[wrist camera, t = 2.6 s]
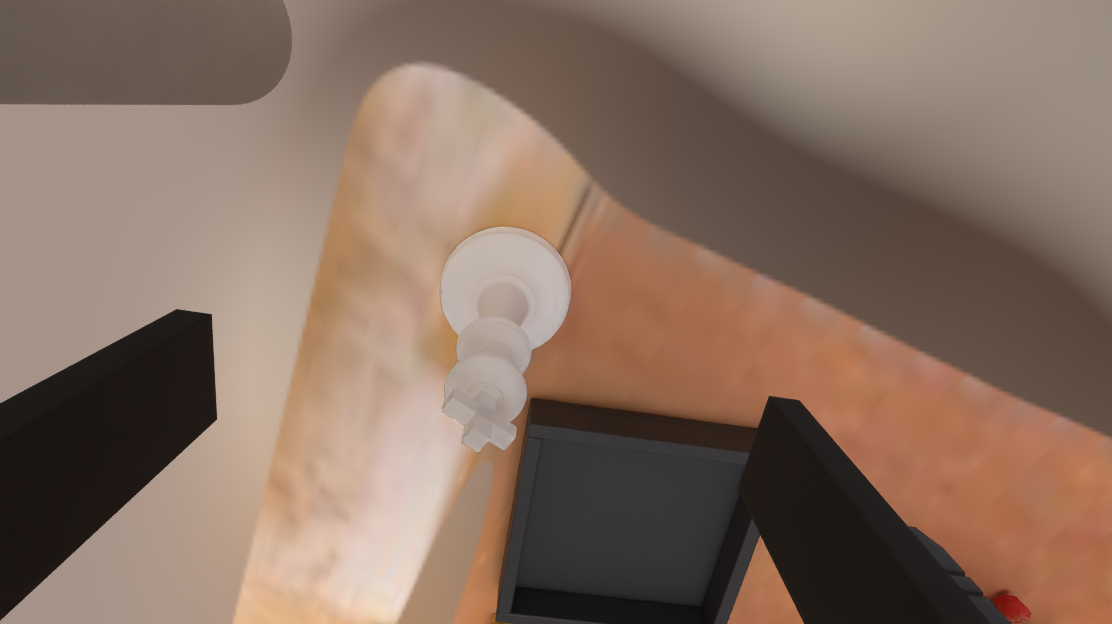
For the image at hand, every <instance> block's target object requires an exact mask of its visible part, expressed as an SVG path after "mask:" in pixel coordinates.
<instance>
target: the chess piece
mask: <svg viewBox="0 0 1112 624" xmlns="http://www.w3.org/2000/svg"><path fill="white" fill-rule="evenodd" d="M440 300H441V305H442V309H443V312H444V315H445V317H446V319H447V321H448V323H449V324H450V326H451V327H452V329H453V330H454V331H455V332H456V333H457V334H458V335H459V338H458V341H457V345H456V355H457V359H458V363H457V364H456V365H455V366H454V367H453V368H452V369H451V371H450V372H449V374H448V376H447V378H446V381H445V386H444V395H445V401H444V404H443V407H442V410H441V412H443V413H445V414H446V415H448V416H449V417H451V418H453V419H454V420H456V421H457V422H459V423H461V424H462V425H464V426H465V428H464V432H463V436H462V440H461V443H462V444H464V445H466V446H467V447H469V448H470V449H472V450H474V451H475V452H477V453H479V451H480V450H481V449H482V448H483V447H484V446H485V444H486V443H487V442H488V441H489V442H491V443H492V444H494V445H496V446H497V447H499V448H500V449H502V450H503V451H504V450H505V449H506V448H507V447H508V446H509V445H510V444H511V442H512V441H513V440H514V439H515V438H516V426H514V425H513V424H511V423H510V422H511V421H512V420H513V419H515V418H516V417H517V416H518V415H519V413H520V412H521V411H522V409H523V407H524V405H525V402H526V397H527V387H526V382H525V379H524V377H523V375H522V374H523V373H524V372H525V370H526V369H527V367H528V365H529V363H530V360H531V353H532V351H531V350H533V349H536V348H538V347H539V346H541V345H543V344H544V343H546V342H547V341H548V340H549V339H550V338H551V337H553V336H554V334H555V333H556V332H557V331H558V330H559V328H560V327H561V325H562V323H563V321H564V319H565V317H566V315H567V312H568V308H569V305H570V300H571V280H570V276H569V272H568V269H567V267H566V264H565V262H564V261H563V259H562V257H561V256H560V254H559V253H558V252H557V251H556V249H555V248H554V247H553V246H552V245H551V244H550V243H548V242H547V241H546V240H545V239H543V238H542V237H540V236H538V235H536V234H534V233H532V232H530V231H527V230H524V229H520V228H515V227H493V228H488V229H485V230H482V231H479V232H477V233H475V234H473V235H471V236H469V237H468V238H466V239H465V240H463V241H462V242H461V243H460V244H459V245H458V246H457V247H456V248H455V249H454V250H453V252H452V253H451V254H450V256H449V258H448V259H447V261H446V263H445V266H444V269H443V272H442V276H441V284H440Z"/></svg>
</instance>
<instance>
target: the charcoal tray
mask: <svg viewBox="0 0 1112 624" xmlns="http://www.w3.org/2000/svg"><path fill="white" fill-rule="evenodd" d="M757 430H758V429H754V428H747V427H739V426H732V425H725V424H717V423H710V422H703V421H696V420H688V419H681V418H674V417H666V416H659V415H652V414H644V413H637V412H630V411H622V410H615V409H608V408H600V407H593V406H586V405H578V404H571V403H564V402H556V401H549V400H542V399H534V398H531V400H530V406H529V411H528V417H527V423H526V429H525V435H524V441H523V447H522V452H521V458H520V464H519V470H518V476H517V482H516V488H515V493H514V499H513V505H512V511H511V517H510V523H509V529H508V534H507V540H506V546H505V552H504V558H503V564H502V570H501V575H500V581H499V589H498V599H497V610H496V622H501V623H510V624H727V622H728V620H729V617H730V614H731V612H732V609H733V606H734V604H735V601H736V598H737V595H738V593H739V590H740V587H741V585H742V582H743V579H744V577H745V574H746V571H747V569H748V566H749V563H750V560H751V558H752V555H753V552H754V550H755V547H756V544H757V542H758V539H759V536H760V533H759V531H758V529H757V527H756V525H755V523H754V521H753V519H752V517H751V515H750V513H749V511H748V509H747V507H746V505H745V503H744V501H743V499H742V497H741V495H740V493H739V491H738V486H739V483H740V481H741V478H742V475H743V472H744V469H745V466H746V463H747V460H748V457H749V454H750V451H751V448H752V445H753V442H754V439H755V436H756V433H757Z"/></svg>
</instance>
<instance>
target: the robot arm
mask: <svg viewBox="0 0 1112 624" xmlns="http://www.w3.org/2000/svg"><path fill="white" fill-rule="evenodd" d="M216 420H217V410H216V390H215V371H214V352H213V332H212V314H206V313H199V312H192V311H185V310H178V309H176V310H174V311H173V312H171V313H169V314H167V315H165V316H163V317H161V318H159V319H157V320H156V321H154V322H152V323H150V324H148V325H146V326H144V327H142V328H141V329H139V330H137V331H135V332H133V333H131V334H129V335H128V336H126V337H124V338H122V339H120V340H118V341H116V342H114V343H112V344H111V345H109V346H107V347H105V348H103V349H101V350H99V351H97V352H96V353H94V354H92V355H90V356H88V357H86V358H84V359H82V360H81V361H79V362H77V363H75V364H74V365H71V366H69V367H67V368H66V369H64V370H62V371H60V372H58V373H56V374H54V375H52V376H51V377H49V378H47V379H45V380H43V381H41V382H39V383H37V384H36V385H34V386H32V387H30V388H28V389H26V390H24V391H23V392H21V393H19V394H17V395H15V396H13V397H11V398H9V399H8V400H6V401H4V402H2V403H0V620H1V619H2V618H4V617H5V616H6V615H7V614H8V613H9V612H10V611H11V610H12V609H13V608H14V607H15V606H16V605H18V604H19V603H20V602H21V601H22V600H23V599H24V598H25V597H26V596H27V595H28V594H29V593H30V592H32V591H33V590H34V589H35V588H36V587H37V586H38V585H39V584H40V583H41V582H42V581H43V580H44V579H45V578H47V577H48V576H49V575H50V574H51V573H52V572H53V571H54V570H55V569H56V568H57V567H58V566H59V565H61V564H62V563H63V562H64V561H65V560H66V559H67V558H68V557H69V556H70V555H71V554H72V553H74V552H75V551H76V550H77V549H78V548H79V547H80V546H81V545H82V544H83V543H84V542H85V541H86V540H87V539H89V538H90V537H91V536H92V535H93V534H94V533H95V532H96V531H97V530H98V529H99V528H100V527H101V526H103V525H104V524H105V523H106V522H107V521H108V520H109V519H110V518H111V517H112V516H113V515H114V514H116V513H117V512H118V511H119V510H120V509H121V508H122V507H123V506H124V505H125V504H126V503H127V502H128V501H130V500H131V498H133V497H134V496H135V495H136V494H137V493H138V492H139V491H140V490H141V489H142V488H143V487H145V486H146V485H147V484H148V483H149V482H150V481H151V480H152V479H153V478H154V477H155V476H156V475H157V474H159V473H160V472H161V471H162V470H163V469H164V468H165V467H166V466H167V465H168V464H169V463H170V462H171V461H172V460H174V459H175V458H176V457H177V456H178V455H179V454H180V453H181V452H182V451H183V450H184V449H185V448H187V447H188V446H189V445H190V444H191V443H192V442H193V441H194V440H195V439H196V438H197V437H198V436H199V435H201V434H202V433H203V432H204V431H205V430H206V429H207V428H208V427H209V426H210V425H211V424H212V423H213V422H215V421H216ZM738 491H739V493H740V495H741V497H742V499H743V501H744V503H745V505H746V507H747V509H748V511H749V513H750V515H751V517H752V519H753V521H754V523H755V525H756V527H757V529H758V531H759V533H760V535H761V537H762V539H763V541H764V543H765V545H766V547H767V549H768V551H769V553H770V555H771V557H772V559H773V562H774V564H775V566H776V568H777V570H778V572H779V574H780V576H781V578H782V580H783V582H784V584H785V586H786V588H787V590H788V592H789V594H790V596H791V598H792V600H793V602H794V604H795V606H796V608H797V610H798V612H799V614H800V616H801V618H802V620H803V622H804V624H1011V623H1010V622H1009V621H1008V620H1007V619H1006V618H1005V616H1004V615H1003V614H1002V613H1001V612H1000V611H999V610H998V609H997V608H996V606H995V605H994V604H993V603H992V602H991V601H990V600H989V599H988V598H986V597H983V592H982V591H981V590H980V589H979V587H978V586H977V585H976V584H975V583H974V582H973V581H972V580H971V579H970V577H966V576H965V572H964V571H963V570H962V569H961V567H960V566H959V565H958V564H957V563H956V562H955V561H954V560H953V559H952V557H951V556H950V555H949V554H948V553H947V552H946V551H945V550H944V549H943V548H942V547H941V546H939V545H938V544H937V543H935V542H934V541H933V540H931V539H930V538H929V537H928V536H926V535H925V534H924V533H922V532H921V531H920V530H918V529H917V528H916V527H909V526H907V525H906V524H905V523H904V521H903V520H902V519H901V518H900V517H899V516H898V515H897V513H896V512H895V511H894V510H893V509H892V508H891V506H890V505H889V504H888V503H887V502H886V501H885V499H884V498H883V497H882V496H881V495H880V494H879V492H878V491H877V490H876V489H875V488H874V487H873V485H872V484H871V483H870V482H869V481H868V480H867V478H866V477H865V476H864V475H863V474H862V473H861V472H860V470H859V469H858V468H857V467H856V466H855V465H854V463H853V462H852V461H851V460H850V459H849V458H848V456H847V455H846V454H845V453H844V452H843V451H842V449H841V448H840V447H839V446H838V445H837V444H836V442H835V441H834V440H833V439H832V438H831V437H830V435H829V434H828V433H827V432H826V431H825V430H824V428H823V427H822V426H821V425H820V424H819V423H818V422H817V420H816V419H815V418H814V417H813V416H812V415H811V413H810V412H809V411H808V410H807V409H806V408H805V406H804V405H803V404H802V403H801V402H800V401H799V400H793V399H786V398H780V397H773V396H769V398H768V401H767V404H766V406H765V409H764V412H763V415H762V418H761V421H760V424H759V427H758V430H757V433H756V436H755V439H754V442H753V445H752V448H751V451H750V454H749V457H748V460H747V463H746V466H745V469H744V472H743V475H742V478H741V481H740V483H739V486H738Z"/></svg>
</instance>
